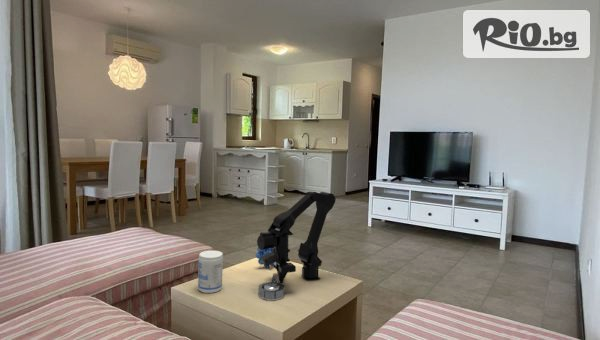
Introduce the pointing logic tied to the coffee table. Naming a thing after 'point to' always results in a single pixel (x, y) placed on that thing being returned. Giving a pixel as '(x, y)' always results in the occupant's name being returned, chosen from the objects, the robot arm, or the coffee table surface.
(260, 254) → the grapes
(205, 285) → the supplement tub
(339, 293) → the coffee table surface
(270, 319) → the coffee table surface
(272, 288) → the grey metal bowl
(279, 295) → the grey octagonal frying pan
